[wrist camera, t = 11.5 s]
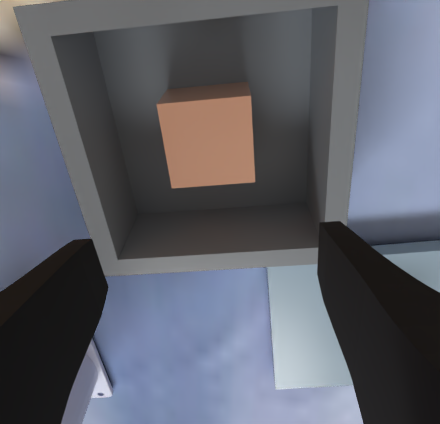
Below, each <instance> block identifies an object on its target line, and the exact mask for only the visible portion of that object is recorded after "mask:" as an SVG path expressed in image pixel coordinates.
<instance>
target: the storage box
mask: <svg viewBox="0 0 440 424" xmlns="http://www.w3.org/2000/svg"><path fill="white" fill-rule="evenodd" d="M368 5H369V0H69V1H60V2H52V3H43V4H34V5H25V6H17V7H13V9H14V12H15V15H16V18H17V21H18V24H19V27H20V30H21V33H22V36H23V39H24V42H25V45H26V48H27V51H28V54H29V57H30V60H31V63H32V66H33V69H34V72H35V75H36V78H37V81H38V84H39V87H40V90H41V92H42V95H43V98H44V101H45V104H46V107H47V110H48V113H49V116H50V119H51V122H52V125H53V128H54V131H55V134H56V137H57V140H58V143H59V146H60V149H61V152H62V155H63V158H64V161H65V164H66V167H67V170H68V173H69V176H70V179H71V182H72V185H73V188H74V191H75V194H76V197H77V200H78V203H79V206H80V209H81V212H82V215H83V217H84V220H85V223H86V226H87V229H88V232H89V235H90V238H91V239H92V240H93V243H94V246H95V249H96V252H97V255H98V258H99V261H100V264H101V267H102V270H103V273H104V275H105V276H122V275H140V274H157V273H174V272H191V271H208V270H226V269H243V268H260V267H277V266H295V265H312V264H318V244H319V222H331V221H341V222H342V223H343V224H344V225H346V226H347V218H348V208H349V198H350V188H351V178H352V167H353V157H354V147H355V137H356V127H357V117H358V107H359V96H360V86H361V76H362V66H363V56H364V46H365V35H366V25H367V15H368ZM239 82H248V84H249V89H250V93H251V106H252V126H253V146H254V166H255V182H252V183H239V184H225V185H212V186H199V187H185V188H172V187H171V181H170V176H169V170H168V165H167V159H166V154H165V148H164V143H163V137H162V132H161V126H160V121H159V115H158V110H157V103H158V101H159V100H160V99H161V97H162V96H163V94H164V93H165V92H166V90H167V89H175V88H186V87H196V86H207V85H218V84H228V83H239Z"/></svg>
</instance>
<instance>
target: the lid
mask: <svg viewBox="0 0 440 424" xmlns="http://www.w3.org/2000/svg"><path fill="white" fill-rule="evenodd" d="M371 247H372V248H374V249H375V250H376V251H378V252H379V253H380V254H382V255H383V256H384V257H386V258H387V259H388V260H390V261H391V262H392V263H394V264H395V265H397V266H398V267H400V268H401V269H403V270H404V271H405V272H407V273H408V274H410V275H411V276H413V277H414V278H416V279H418V280H419V281H421V282H422V283H424V284H426V285H427V286H429V287H431V288H432V289H434V290H436V291H438V292H439V293H440V240H437V241H425V242H412V243H400V244H387V245H375V246H371ZM317 266H318V264H312V265H295V266H277V267H267V280H268V295H269V309H270V324H271V339H272V353H273V368H274V380H275V389H292V388H312V387H331V386H351V385H353V382H352V379H351V376H350V373H349V369H348V366H347V364H346V361H345V359H344V356H343V353H342V351H341V348H340V345H339V343H338V340H337V337H336V335H335V332H334V329H333V327H332V324H331V321H330V318H329V316H328V313H327V310H326V308H325V305H324V302H323V298H322V294H321V289H320V285H319V280H318V276H317Z"/></svg>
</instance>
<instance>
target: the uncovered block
mask: <svg viewBox="0 0 440 424" xmlns="http://www.w3.org/2000/svg"><path fill="white" fill-rule="evenodd" d="M157 110H158V115H159V121H160V126H161V132H162V137H163V143H164V148H165V154H166V159H167V165H168V170H169V176H170V181H171V187H172V188H185V187H199V186H212V185H225V184H239V183H252V182H255V166H254V146H253V126H252V106H251V93H250V89H249V84H248V82H239V83H228V84H218V85H207V86H196V87H186V88H175V89H167V90H166V92H165V93H164V94H163V96H162V97H161V99H160V100H159V101H158V103H157Z"/></svg>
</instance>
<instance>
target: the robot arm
mask: <svg viewBox="0 0 440 424" xmlns="http://www.w3.org/2000/svg"><path fill="white" fill-rule="evenodd" d="M317 276H318V280H319V285H320V289H321V294H322V298H323V302H324V305H325V308H326V310H327V313H328V316H329V318H330V321H331V324H332V327H333V329H334V332H335V335H336V337H337V340H338V343H339V345H340V348H341V351H342V353H343V356H344V359H345V361H346V364H347V366H348V369H349V373H350V376H351V379H352V382H353V385H354V389H355V393H356V397H357V400H358V404H359V408H360V412H361V415H362V419H363V423H364V424H440V293H439V292H438V291H436V290H434V289H432V288H431V287H429V286H427V285H426V284H424V283H422V282H421V281H419V280H418V279H416V278H414V277H413V276H411V275H410V274H408V273H407V272H405V271H404V270H403V269H401V268H400V267H398V266H397V265H395V264H394V263H392V262H391V261H390V260H388V259H387V258H386V257H384V256H383V255H382V254H380V253H379V252H378V251H376V250H375V249H374V248H372V247H371V246H370V245H369V244H367V243H366V242H365V241H364V240H363V239H361V238H360V237H359V236H358V235H356V234H355V233H354V232H353V231H352V230H350V229H349V228H348V227H347V226H346V225H344V224H343V223H342V222H341V221H331V222H319V244H318V266H317ZM107 291H108V284H107V281H106V278H105V275H104V273H103V270H102V267H101V264H100V261H99V258H98V255H97V252H96V249H95V246H94V243H93V240H92V239H80V240H73V241H71V242H70V243H68V244H67V245H65V246H64V247H62V248H61V249H59V250H58V251H57V252H55V253H54V254H52V255H51V256H50V257H48V258H47V259H46V260H44V261H43V262H42V263H40V264H39V265H38V266H36V267H35V268H34V269H32V270H31V271H29V272H28V273H27V274H25V275H24V276H23V277H21V278H20V279H19V280H17V281H16V282H14V283H13V284H11V285H10V286H8V287H7V288H6V289H4V290H3V291H1V292H0V424H82V422H83V419H84V416H85V414H86V411H87V408H88V405H89V402H90V399H91V398H102V397H110V396H112V394H113V389H112V386H111V384H110V381H109V379H108V376H107V374H106V371H105V369H104V366H103V364H102V361H101V359H100V356H99V354H98V351H97V349H96V346H95V344H94V341H93V339H92V337H93V335H94V333H95V330H96V328H97V325H98V323H99V320H100V317H101V315H102V311H103V307H104V304H105V300H106V295H107Z"/></svg>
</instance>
